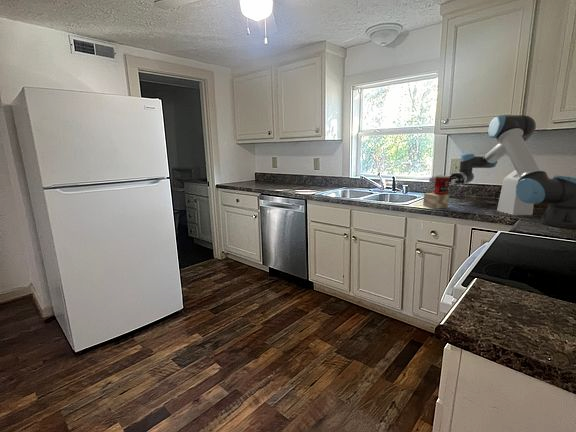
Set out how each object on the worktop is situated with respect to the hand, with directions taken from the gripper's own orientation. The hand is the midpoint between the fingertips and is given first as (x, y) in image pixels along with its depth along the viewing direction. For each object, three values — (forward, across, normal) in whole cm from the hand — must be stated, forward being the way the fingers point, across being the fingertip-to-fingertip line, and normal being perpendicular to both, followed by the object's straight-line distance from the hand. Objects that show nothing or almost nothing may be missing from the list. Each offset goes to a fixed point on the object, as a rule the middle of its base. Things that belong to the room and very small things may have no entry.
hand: (440, 181), depth 191 cm
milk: (-18, -35, -16) cm, 42 cm away
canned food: (-2, 0, -8) cm, 9 cm away
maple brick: (0, +2, -16) cm, 16 cm away
